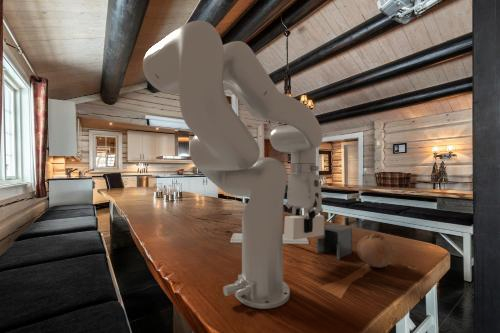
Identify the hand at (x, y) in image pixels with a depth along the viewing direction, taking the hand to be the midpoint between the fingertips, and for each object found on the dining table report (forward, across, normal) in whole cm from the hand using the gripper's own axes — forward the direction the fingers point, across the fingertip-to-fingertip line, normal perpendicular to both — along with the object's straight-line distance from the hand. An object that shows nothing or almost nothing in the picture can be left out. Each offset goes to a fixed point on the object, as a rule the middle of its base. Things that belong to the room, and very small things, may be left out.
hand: (302, 230), depth 69 cm
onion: (+10, -13, -16) cm, 23 cm away
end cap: (+10, 0, -18) cm, 21 cm away
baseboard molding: (+11, +25, -9) cm, 29 cm away
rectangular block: (+2, 0, -1) cm, 2 cm away
